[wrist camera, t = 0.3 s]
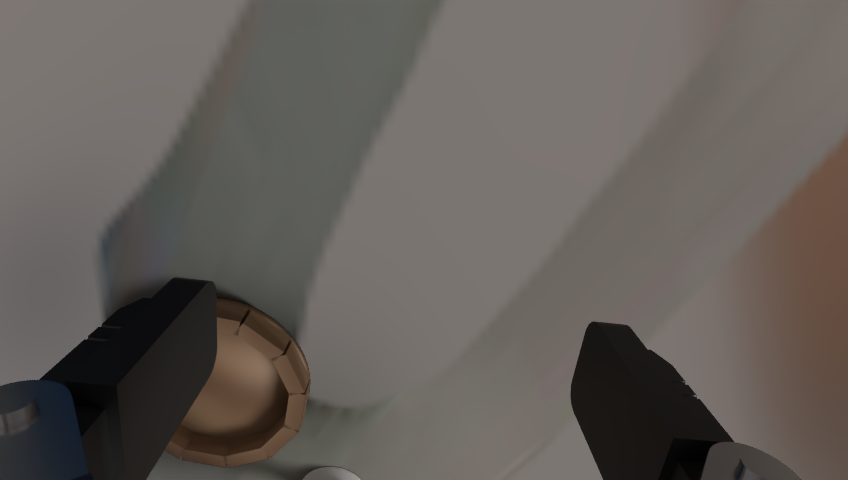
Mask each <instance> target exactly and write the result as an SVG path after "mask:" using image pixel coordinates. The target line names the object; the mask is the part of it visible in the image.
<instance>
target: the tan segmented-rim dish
mask: <svg viewBox="0 0 848 480" xmlns="http://www.w3.org/2000/svg"><path fill="white" fill-rule="evenodd" d="M216 302H217V355H216V361H215V365H214V368H213V371H212V373H211V375H210V377H209V379H208V380H207V382H206V384H205V385H204V387H203V388H202V390H201V392H200V393H199V395H198V397H197V398H196V400H195V401H194V403H193V405H192V406H191V408H190V409H189V411H188V413H187V414H186V416H185V417H184V419H183V421H182V422H181V424H180V426H179V427H178V429H177V430H176V432H175V434H174V435H173V437H172V438H171V440H170V442H169V443H168V445H167V446H166V448H165V451H167V452H168V453H170V454H172V455H173V456H175V457H177V458H178V459H179V458H180V457H181V456H182V460H185V461H191V462H196V463H202V464H208V465H213V466H219V467H224V468H226V466H228V467H229V468H230V467H234V466H238V465H243V464H247V463H252V462H256V461H260V460H265V459H269V457H272V456H273V455H274V454H275V453H277V452H278V451H279V450H280V449H281V448H282V447H283V446H284V445H285V444H286V443H287V442H289V441H290V440H291V439H292V438H293V437H294V436H295V435H296V434H297V433H298V431H299V430H300V427H301V424H302V421H303V418H304V415H305V409H306V403H307V399H308V395H309V392H310V373H309V368H308V364H307V361H306V359H305V356H304V354H303V352H302V350H301V348H300V347H299V345H298V343H297V342H296V341H295V339H294V338H293V337H292V335H291V334H290V333H289V332H288V331H287V330H286V329H285V328H284V327H283V326H282V325H280V324H279V323H278V322H277V321H275V320H274V319H273V318H271V317H270V316H268V315H267V314H265V313H264V312H262V311H260V310H258V309H256V308H254V307H252V306H249V305H246V304H244V303H241V302H237V301H233V300H230V299H224V298H217V297H216Z"/></svg>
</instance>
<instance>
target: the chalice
mask: <svg viewBox="0 0 848 480" xmlns="http://www.w3.org/2000/svg"><path fill="white" fill-rule="evenodd" d="M302 480H361V479H360V478H359V477H357V476H356V475H355V474H354V473H352V472H350V471H348V470H346V469H342V468H338V467H322V468H318V469H315V470H313V471H311V472H310V473H308V474H306V476H305V477H304V478H303V479H302Z"/></svg>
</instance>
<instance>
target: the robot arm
mask: <svg viewBox="0 0 848 480" xmlns="http://www.w3.org/2000/svg"><path fill="white" fill-rule="evenodd" d="M216 355H217V302H216V287H215V284H214V283H213V282H212V281H205V280H196V279H186V278H173V279H171V280H170V281H169V282H168V283H167V284H166V285H165V286H164V287H163V288H162V289H161V290H160V291H159V292H158V293H157V294H156V295H154V296H153V297H152V298H151V299H149V298H142V299H140V300H138V301H135V302H133V303H131V304H129V305H127V306H125V307H122V308H120V309H118V310H117V311H116V312H115V313H114V314H113V315H112V316H110V317H109V318H108V319H107V320H106V321H105V322H104V323H103V324H102V327H98V328H97V329H96V330H95V331H94V332H93V333H91V334H90V335H89V336H88V339H87V340H83V341H82V342H81V343H80V344H79V345H78V346H77V347H75V348H74V349H73V350H72V351H71V352H70V353H69V354H68V355H66V356H65V357H64V358H63V359H62V360H61V361H60V362H59V363H57V364H56V365H55V366H54V367H53V368H52V369H51V370H49V371H48V372H47V373H46V374H45V375H44V376H43V377H42V378H41V379H39V380H27V381H20V382H14V383H9V384H6V385H2V386H0V480H146V479H147V477H148V475H149V474H150V472H151V471H152V469H153V467H154V466H155V464H156V463H157V461H158V459H159V458H160V456H161V455H162V453H163V451H164V450H165V448H166V446H167V445H168V443H169V442H170V440H171V438H172V437H173V435H174V434H175V432H176V430H177V429H178V427H179V426H180V424H181V422H182V421H183V419H184V417H185V416H186V414H187V413H188V411H189V409H190V408H191V406H192V405H193V403H194V401H195V400H196V398H197V397H198V395H199V393H200V392H201V390H202V388H203V387H204V385H205V384H206V382H207V380H208V379H209V377H210V375H211V373H212V371H213V368H214V365H215V361H216ZM571 404H572V408H573V411H574V414H575V416H576V418H577V421H578V423H579V425H580V427H581V430H582V432H583V434H584V437H585V439H586V441H587V443H588V445H589V448H590V450H591V453H592V455H593V457H594V459H595V462H596V464H597V466H598V469H599V471H600V473H601V475H602V478H603V480H802V479H801V478H800V477H799V476H798V475H797V474H796V473H795V472H794V471H793V470H791V469H790V468H789V467H788V466H787V465H785V464H784V463H782V462H781V461H779V460H778V459H776V458H775V457H773V456H771V455H769V454H767V453H765V452H763V451H761V450H758V449H756V448H754V447H751V446H748V445H745V444H740V443H735V442H734V441H733V440H732V438H731V437H730V436H729V435H728V433H727V432H726V431H725V430H724V428H723V427H722V426H721V425H720V424H719V423H718V421H717V420H716V419H715V417H714V416H713V415H712V414H711V412H710V411H709V410H708V409H707V408H706V406H705V405H704V404H703V403H702V401H701V400H700V399H697V395H696V394H695V393H694V392H693V390H692V389H691V388H690V387H689V385H685V380H683V378H682V377H681V376H680V374H679V373H678V372H677V371H676V369H675V368H674V367H673V366H672V365H671V364H670V363H668V362H667V361H666V360H664V359H663V358H661V357H660V356H659V355H657V354H656V353H655V352H653V351H652V350H647V348H646V347H645V346H644V345H643V343H642V342H641V341H640V339H639V338H638V337H637V335H636V334H635V333H634V332H633V330H632V329H631V328H630V327H629V326H628V325H622V324H613V323H603V322H591V323H590V324H589V325H588V327H587V329H586V332H585V335H584V339H583V343H582V346H581V350H580V354H579V357H578V361H577V365H576V368H575V372H574V376H573V379H572V384H571Z"/></svg>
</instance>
